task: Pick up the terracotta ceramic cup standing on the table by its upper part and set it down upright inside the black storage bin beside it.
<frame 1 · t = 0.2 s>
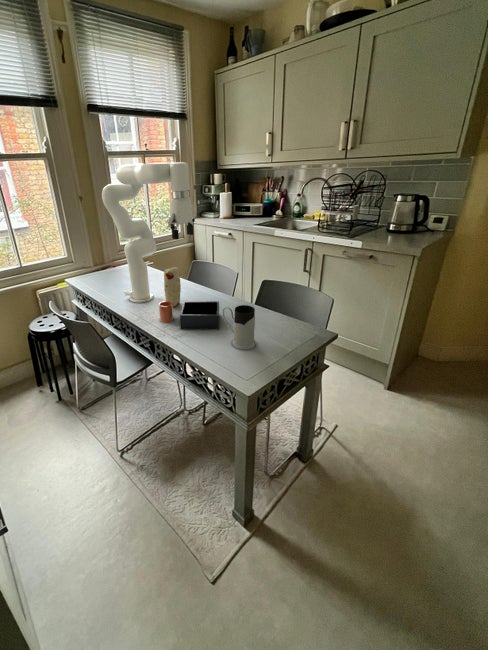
hand: (183, 236, 137), 37 cm above the table, tool pointing down, fingers open, 9 cm apart
food model: (173, 305, 162), on the table
cup: (166, 319, 147), on the table
black storage bin: (200, 321, 144), on the table
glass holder: (237, 341, 126), on the table
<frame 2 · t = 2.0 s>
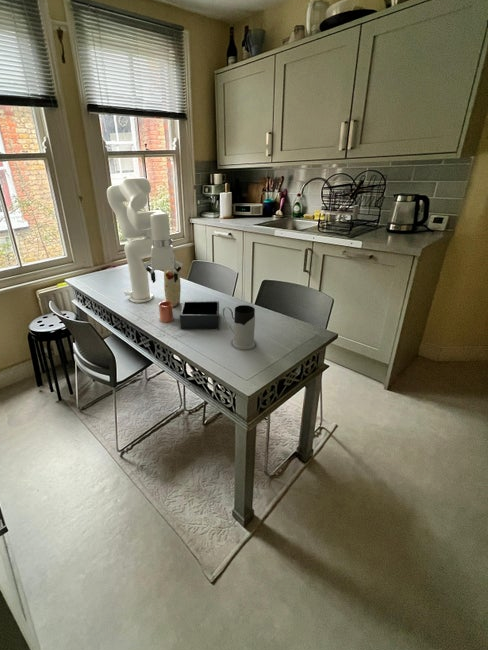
hand: (164, 281, 139), 19 cm above the table, tool pointing down, fingers open, 9 cm apart
nothing on the table moved.
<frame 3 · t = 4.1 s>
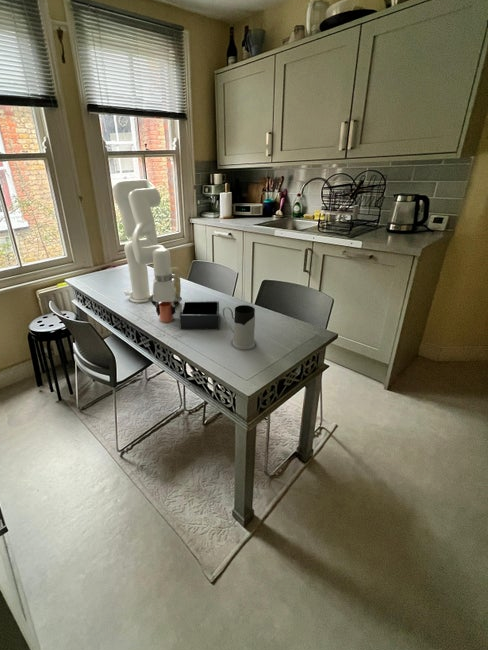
hand: (166, 313, 146), 3 cm above the table, tool pointing down, fingers closed on cup, 6 cm apart
cup: (166, 319, 147), on the table, touching gripper
everything else where it was.
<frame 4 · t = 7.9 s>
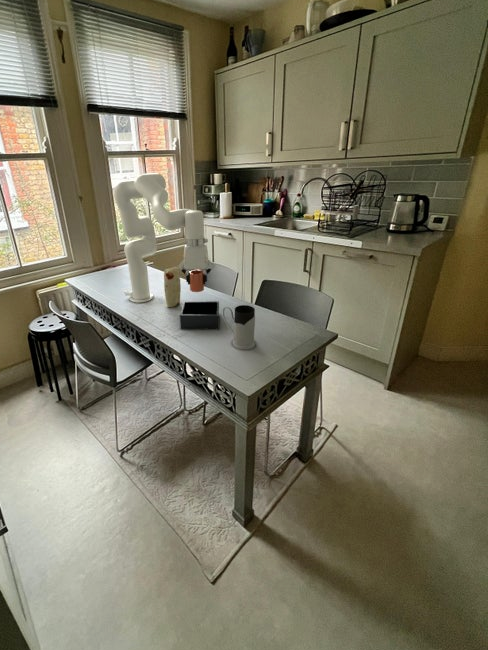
hand: (196, 283, 136), 19 cm above the table, tool pointing down, fingers closed on cup, 6 cm apart
cup: (197, 289, 137), point 16 cm above the table, touching gripper
everything else where it was.
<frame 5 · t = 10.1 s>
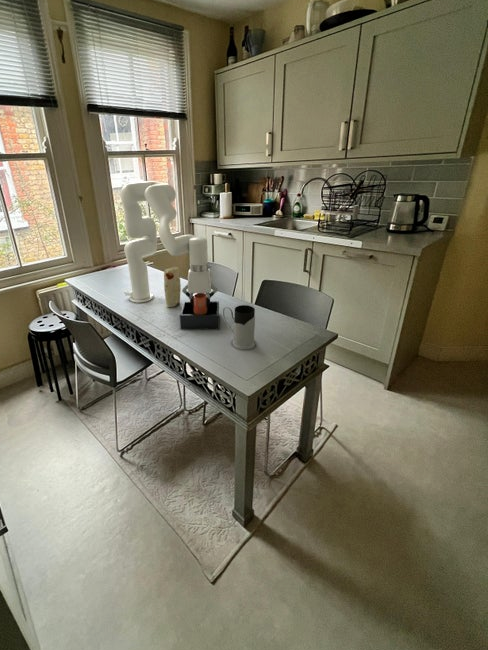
hand: (200, 305, 140), 8 cm above the table, tool pointing down, fingers closed on cup, 6 cm apart
cup: (200, 311, 141), point 5 cm above the table, touching gripper
everything else where it was.
when the fingers open (4 cm above the table, at t = 11.6 s): cup stays where it is, resting on black storage bin.
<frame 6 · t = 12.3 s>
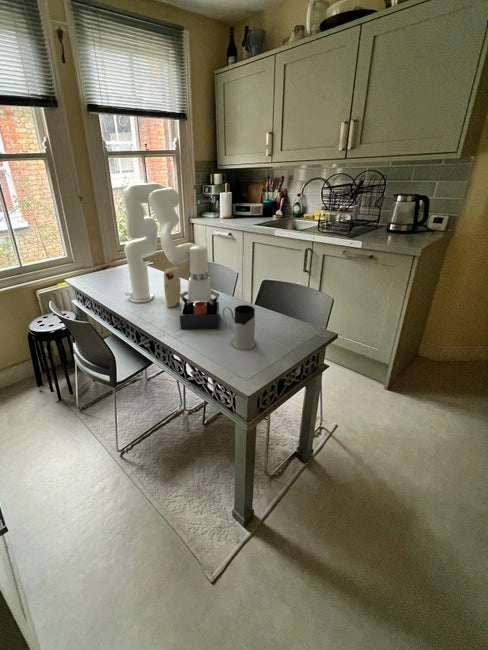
hand: (200, 311, 142), 5 cm above the table, tool pointing down, fingers open, 9 cm apart
cup: (200, 320, 143), point 1 cm above the table, touching black storage bin
everything else where it was.
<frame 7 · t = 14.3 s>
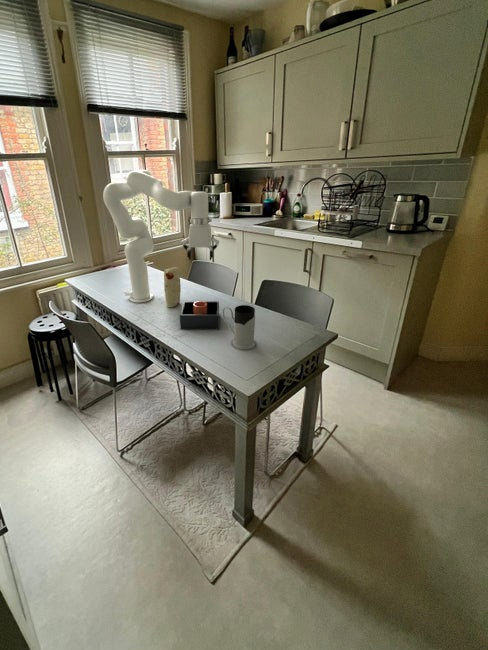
hand: (200, 259, 146), 25 cm above the table, tool pointing down, fingers open, 9 cm apart
nothing on the table moved.
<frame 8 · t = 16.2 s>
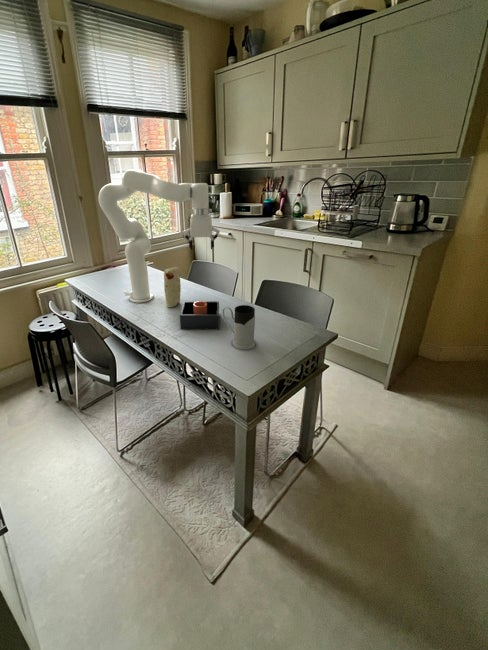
hand: (201, 248, 151), 28 cm above the table, tool pointing down, fingers open, 9 cm apart
nothing on the table moved.
at the end: cup inside the target area in the black storage bin (0.1 cm from its centre), point 0.8 cm above the black storage bin's base; cup tilted 0°; the gripper is holding nothing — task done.
